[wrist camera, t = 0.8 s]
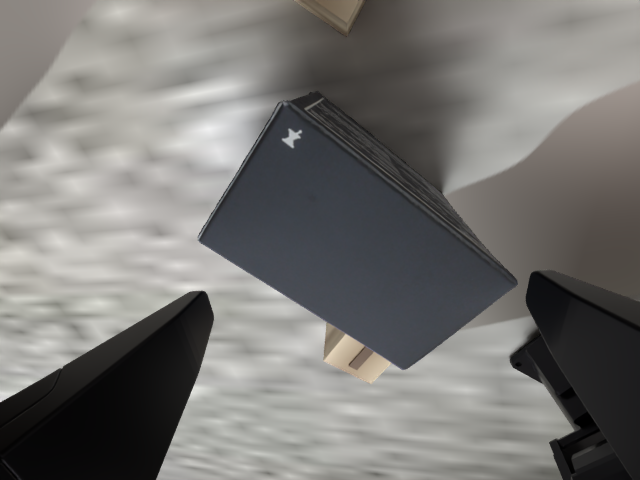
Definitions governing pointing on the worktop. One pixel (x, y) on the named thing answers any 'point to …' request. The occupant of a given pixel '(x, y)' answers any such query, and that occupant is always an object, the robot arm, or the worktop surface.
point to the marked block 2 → (352, 355)
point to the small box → (353, 234)
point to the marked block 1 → (335, 12)
